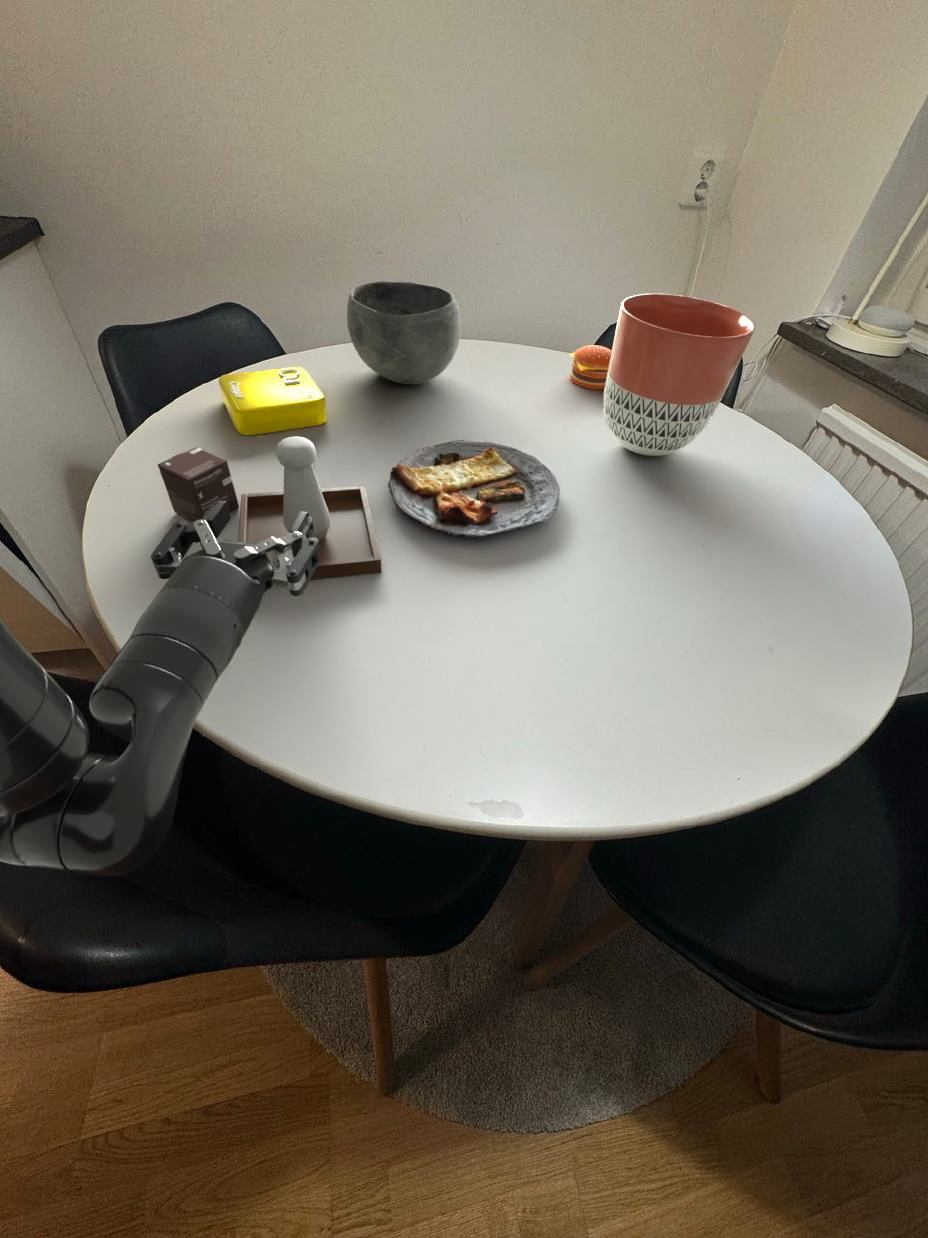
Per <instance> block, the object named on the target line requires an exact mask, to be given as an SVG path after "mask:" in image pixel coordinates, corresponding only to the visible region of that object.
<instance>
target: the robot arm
mask: <svg viewBox="0 0 928 1238" xmlns="http://www.w3.org/2000/svg"><path fill="white" fill-rule="evenodd" d="M231 518H232V513H231V512H230V509H229V505H228V502H225V501H219V502H218V503H217V504H216V505H213V506H212V507H210V508H209V510H208V511H207V512H206V514H205V515H204V516H203V518H202V519H199V520H196V521H195V522H193V523H189V524H188V523H187V522H185V521H184V520H176V521H174V522H173V523H172V524H171V525H170V527H169V529H168V530H167V531H166V533H165V534H164V536H163V537H162V539H161V540H160V541H159V542H158V544H157V545H156V547H155V548H154V550H153V551H152V553H151V554H150V556H149V557H150V559H151V562H152V565H153V567H154V569H155V572H156V573H157V575H158V578H159V579H160V580H166V581H165V583H164V584H163V586H161V589H160V590H159V591H158V593H157V594H156V595H155V597H154V598H153V599H152V601H150V604H148V606H147V608H146V609H145V610H144V612H143V613H142V614H141V616H140V617H139V619H138V620H137V622H136V624H135V626H134V628H133V630H132V632H131V634H130V636H129V638H128V639H127V641H126V642H125V643H124V645H123V646H122V648H121V649H120V651H119V652H118V653H117V655H116V656H115V657H114V658H113V660H112V662H110V664H109V666H108V667H107V669H106V670H105V671H104V672H103V674H102V676H101V677H100V679H98V681H97V682H96V684H95V686H94V687H93V689H92V691H91V694H90V697H89V701H88V710H89V712H90V714H91V717H92V718H93V719H94V721H95V722H96V723H97V724H98V725H99V726H100V727H102V728H103V729H104V730H106V731H107V732H108V733H111V734H113V735H115V736H116V737H118V738H120V739H123V740H125V741H127V742H129V743H128V745H127V747H126V748H125V750H124V751H123V752H122V753H121V754H119V755H117V754H111V753H103V752H97V751H89V747H90V731H89V726H88V723H87V721H86V718H85V716H84V715H83V713H82V712H81V710H80V708H79V707H78V706H77V705H76V704H75V702H74V700H73V699H72V698H71V697H70V696H69V695H68V693H67V692H66V691H65V690H64V689H63V687H61V686H60V684H59V683H58V682H57V681H56V680H55V679H54V678H53V677H52V675H51V674H50V673H49V672H48V671H47V670H46V669H45V667H44V666H43V665H42V664H41V663H40V661H38V659H37V658H36V657H35V656H34V655H33V654H32V653H31V651H30V650H28V647H26V646H25V645H24V644H23V642H22V641H20V639H19V638H18V636H16V634H15V633H14V631H12V629H11V628H10V626H9V625H8V624H7V623H6V622H5V620H4V619H3V618H2V617H1V616H0V862H1V863H5V864H9V865H13V866H19V867H28V868H36V869H42V870H43V869H44V870H51V871H59V872H66V873H75V874H80V875H87V876H94V877H95V876H96V877H102V878H103V877H104V878H105V877H107V878H108V877H118V876H121V875H126V874H127V873H129V872H131V871H133V870H135V869H137V868H138V867H139V866H141V865H142V864H144V863H145V862H146V861H147V860H149V858H150V857H151V856H152V855H154V853H155V852H157V850H158V849H159V847H160V846H161V845H162V843H163V842H164V841H165V839H166V837H167V835H168V833H169V831H170V829H171V826H172V823H173V820H174V816H175V812H176V807H177V802H178V796H179V790H180V783H181V777H182V772H183V768H184V763H185V760H186V759H185V758H186V755H187V751H188V746H189V743H190V738H191V734H192V732H193V728H194V725H195V722H196V720H197V718H198V716H199V714H200V712H201V710H202V709H203V708H204V705H205V703H206V701H207V700H208V697H209V696H210V694H211V692H212V691H213V689H214V686H215V684H216V683H217V681H218V680H219V678H220V677H221V675H222V674H223V673H224V672H225V670H226V669H227V668H228V666H229V665H230V664H231V661H232V660H233V658H234V655H235V654H236V653H237V650H238V649H239V648H240V647H241V644H242V642H243V639H244V638H245V635H246V633H247V631H248V630H249V627H250V625H251V624H252V622H253V620H254V618H255V616H256V615H257V612H258V611H259V609H260V606H261V603H262V601H263V597H264V595H265V594H266V593H267V592H268V591H270V590H272V588H273V587H278V588H284V589H288V591H289V595H291V596H292V597H300V596H302V595H303V593H304V591H305V590H306V589H307V587H308V585H309V583H310V581H311V580H310V579H311V577H312V576H313V574H314V572H315V570H316V568H317V567H318V565H319V563H320V561H321V559H320V551H319V545H318V540H317V539H316V538H313V537H312V538H311V536H312V534H313V532H314V529H313V522H312V517H309V513H308V512H303V511H301V512H300V513H299V515H298V517H297V519H296V521H295V522H294V524H293V526H292V528H291V530H290V533H289V534H287V535H285V536H282V537H280V538H278V539H277V538H275V537H270V538H268V539H266V540H264V541H262V542H260V543H253V542H238V541H239V540H235V539H229V538H228V539H227V538H225V539H224V540H221V541H217V539H218V538H219V537H220V535H221V534H222V533H223V531H224V529H225V528H226V526H227V525H228V524H229V522H230V521H231ZM193 544H199V546H200V547H201V549H199V550H197V551H195V552H193V553H190V554H188V552H189V551H190V549H191V547H192V545H193ZM289 546H291V548H292V549H291V550H289V551H287V552H284V550H285V549H286V548H287V547H289ZM270 551H271V552H272V557H273V561H272V562H271V563H270V561H269V559H268V557H267V555H266V553H268V552H270ZM187 554H188V555H187Z"/></svg>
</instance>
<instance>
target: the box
mask: <svg viewBox="0 0 928 1238" xmlns="http://www.w3.org/2000/svg"><path fill="white" fill-rule="evenodd" d="M157 467H158V470H159V473H160V476H161V479H162V481H163V483H164V484H163V485H164V487H165V490H166V492H167V495H168V498H169V500H170V503H171V504H170V505H171V507H172V509H173V512H174V513H175V514H176V515H179V516H181V517H182V518H185V519H186V520H189V521H190V522H193V523H194V522H195V521H196V520H199V519H202V518H203V516H204V515H205V514H206V512H207V511H208V510H209V508H210V507H212V506H213V505H216V504H217V503H218V502H219V501H225V502H228V505H229V509H230V512H231V514H232V513H234V512H236V511H238V510H240V509H239V508H240V504H239V501H238V497H237V493H236V489H235V486H234V481H233V477H232V474H231V470H230V467H229V464H228V460H227V459H225V458H223V457H220V456H218V455H215V454H213V453H211V452H209V451H207V450H204V449H203V448H200V447H193V448H191V449H189V450H187V451H184V452H180V453H178V454H175V455H173V456H171V458H168V459H166V460H164V461H161V462H159V463H157Z"/></svg>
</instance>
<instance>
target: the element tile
mask: <svg viewBox="0 0 928 1238" xmlns="http://www.w3.org/2000/svg"><path fill="white" fill-rule="evenodd" d="M218 384H219V387H220V393H221V395H222V396H221V397H222V400H223V403H224V405H225V408H226V410H227V413H228V415H229V417H230V419H231V421H232V424H233V426H234V428H235V430H236V431H237V432H238V433H239V434H240V435H243V436H257V435H263V434H264V435H265V434H270V433H276V432H284V431H291V430H296V429H302V428H310V427H317V426H321V425H323V424H325V423H326V422H327V420H328V417H327V407H326V399H325V398H326V397H325V395H324V394H323V392H322V391H321V389H320V388H319V387H318V385H317V384H316V383H315V381H314V380H313V379H312V377H311V376H310V375H309V373H308V372H307V370H305V369H304V368H302V367H301V366H292V367H282V368H271V369H264V370H255V371H247V372H237V373H229V374H228V373H227V374H222V375H221V376H220V377H219V378H218Z"/></svg>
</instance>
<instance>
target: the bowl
mask: <svg viewBox="0 0 928 1238" xmlns="http://www.w3.org/2000/svg"><path fill="white" fill-rule="evenodd" d="M346 325H347V330H348V333H349V337H350V340H351V343H352V345H353V347H354V349H355V351H356V353H357V355H358V357H360V359H361V361H363V363H364V364H365V365H366V366H367V368H369V369H371V370H372V371H373V372H375V373H376V374H377V375H379V376H380V377H383V378H384V379H386V380H388V381H391V382H394V383H397V384H402V385H418V384H422V383H425V382H428V381H431V380H432V379H434V378H435V377H438V376H439V375H440V374H442V373H443V372H444V371H445V370H446V369H447V368H448V366H449V365H450V363H451V362H452V361H453V359H454V357H455V355H456V352H457V349H458V347H459V343H460V340H461V339H460V338H461V314H460V309H459V305H458V301H457V299H456V297H455V295H454V294H453V293H452V292H450V291H449V290H447V289H445V288H442V287H439V286H434V285H430V284H425V283H418V282H415V281H414V282H412V281H384V280H379V281H371V282H364V283H361V284H357V285H356V286H355V287H353V288H352V289H351V290H350V292H349V295H348V299H347V305H346Z"/></svg>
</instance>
